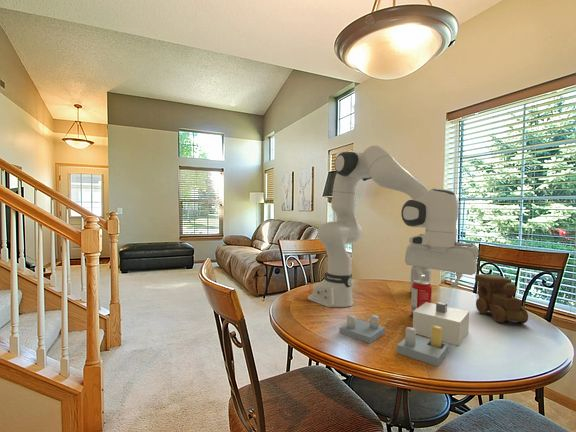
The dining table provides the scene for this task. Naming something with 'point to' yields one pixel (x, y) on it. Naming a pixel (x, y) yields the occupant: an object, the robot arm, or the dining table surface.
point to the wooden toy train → (499, 299)
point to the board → (362, 328)
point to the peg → (436, 336)
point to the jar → (416, 277)
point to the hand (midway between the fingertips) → (437, 283)
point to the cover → (442, 321)
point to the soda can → (420, 294)
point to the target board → (421, 348)
